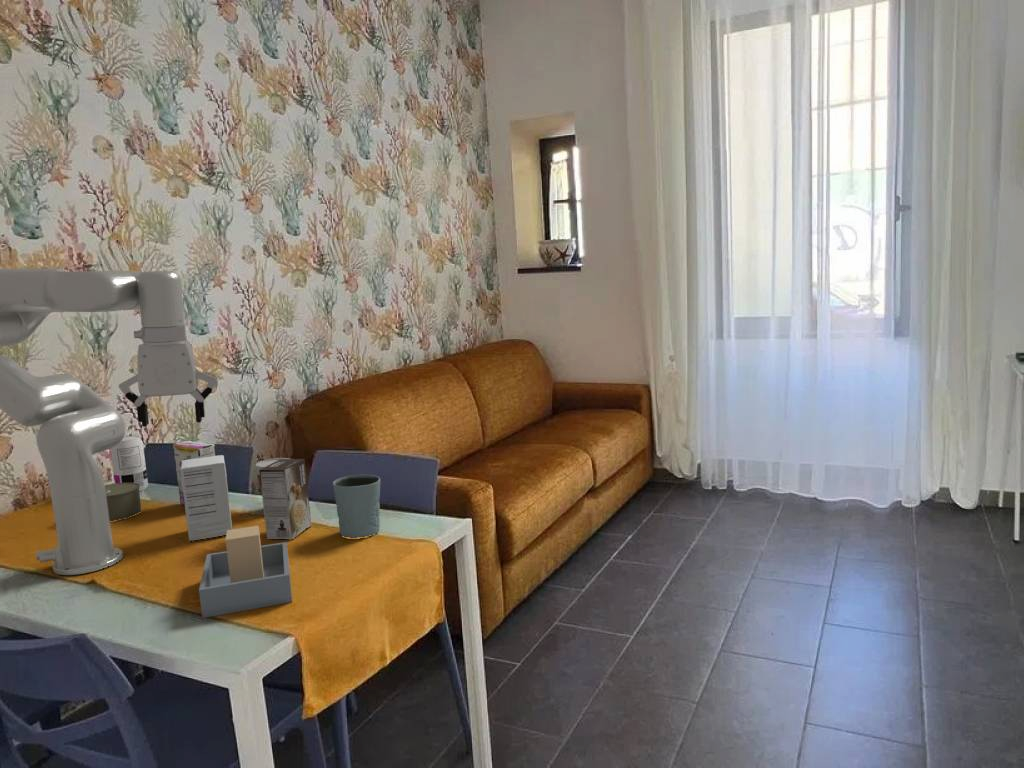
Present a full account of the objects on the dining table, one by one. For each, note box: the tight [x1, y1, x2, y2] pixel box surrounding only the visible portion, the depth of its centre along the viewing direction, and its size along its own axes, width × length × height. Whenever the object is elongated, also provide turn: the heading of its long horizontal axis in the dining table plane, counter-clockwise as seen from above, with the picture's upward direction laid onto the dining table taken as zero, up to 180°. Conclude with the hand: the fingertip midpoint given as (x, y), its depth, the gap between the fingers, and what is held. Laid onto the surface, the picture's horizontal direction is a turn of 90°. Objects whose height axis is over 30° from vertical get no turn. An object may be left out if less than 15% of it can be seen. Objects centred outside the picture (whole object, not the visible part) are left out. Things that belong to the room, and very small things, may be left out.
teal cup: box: [332, 474, 381, 538], centre depth 161 cm, size 10×10×12 cm
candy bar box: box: [172, 440, 217, 507], centre depth 187 cm, size 11×5×16 cm, turn 58°
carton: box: [225, 525, 264, 583], centre depth 133 cm, size 6×6×10 cm
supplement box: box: [180, 454, 233, 541], centre depth 166 cm, size 10×9×17 cm
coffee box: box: [259, 458, 312, 539], centre depth 163 cm, size 9×6×16 cm
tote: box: [198, 541, 293, 619], centre depth 134 cm, size 15×18×5 cm
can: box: [104, 483, 142, 521], centre depth 184 cm, size 12×12×7 cm
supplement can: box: [109, 435, 149, 493], centre depth 206 cm, size 8×8×15 cm
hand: (172, 423), depth 143 cm, fingers open, 9 cm apart
